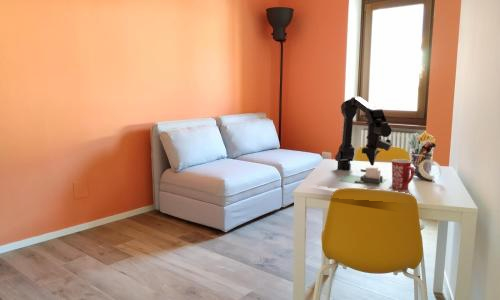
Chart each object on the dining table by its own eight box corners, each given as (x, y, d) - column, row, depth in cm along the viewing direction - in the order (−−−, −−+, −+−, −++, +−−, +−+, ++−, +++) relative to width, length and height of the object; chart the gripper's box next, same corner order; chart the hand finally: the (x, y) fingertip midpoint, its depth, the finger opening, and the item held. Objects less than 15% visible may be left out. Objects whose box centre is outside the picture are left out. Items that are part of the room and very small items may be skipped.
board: (337, 183, 205) (337, 179, 205) (347, 177, 219) (347, 173, 218) (379, 189, 195) (379, 185, 194) (387, 182, 208) (387, 177, 208)
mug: (386, 186, 200) (387, 159, 198) (401, 184, 203) (403, 158, 201) (402, 193, 189) (404, 164, 186) (419, 191, 191) (421, 163, 189)
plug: (359, 180, 205) (360, 167, 204) (361, 179, 208) (362, 165, 207) (378, 183, 201) (379, 169, 199) (380, 181, 203) (381, 168, 202)
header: (360, 181, 203) (360, 177, 203) (364, 178, 210) (364, 173, 209) (378, 184, 199) (378, 179, 198) (382, 180, 205) (382, 176, 204)
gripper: (386, 137, 188) (384, 170, 191) (394, 133, 204) (393, 163, 206) (362, 136, 193) (360, 168, 196) (372, 131, 209) (370, 161, 212)
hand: (372, 165), depth 203 cm, fingers closed
